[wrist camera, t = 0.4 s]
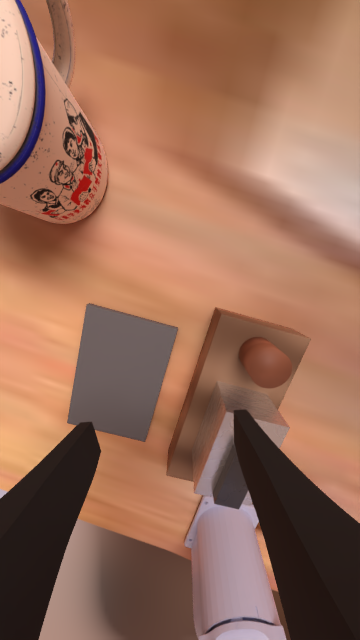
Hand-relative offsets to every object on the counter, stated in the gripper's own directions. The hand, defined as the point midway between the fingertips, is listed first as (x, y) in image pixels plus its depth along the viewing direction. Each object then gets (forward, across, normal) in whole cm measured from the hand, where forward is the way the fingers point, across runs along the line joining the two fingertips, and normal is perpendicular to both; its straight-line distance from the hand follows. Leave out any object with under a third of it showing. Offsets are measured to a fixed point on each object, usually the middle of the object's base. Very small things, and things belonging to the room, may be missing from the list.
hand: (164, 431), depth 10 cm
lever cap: (+7, -5, +7) cm, 11 cm away
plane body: (+10, -5, +7) cm, 13 cm away
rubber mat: (+10, +6, +3) cm, 13 cm away
